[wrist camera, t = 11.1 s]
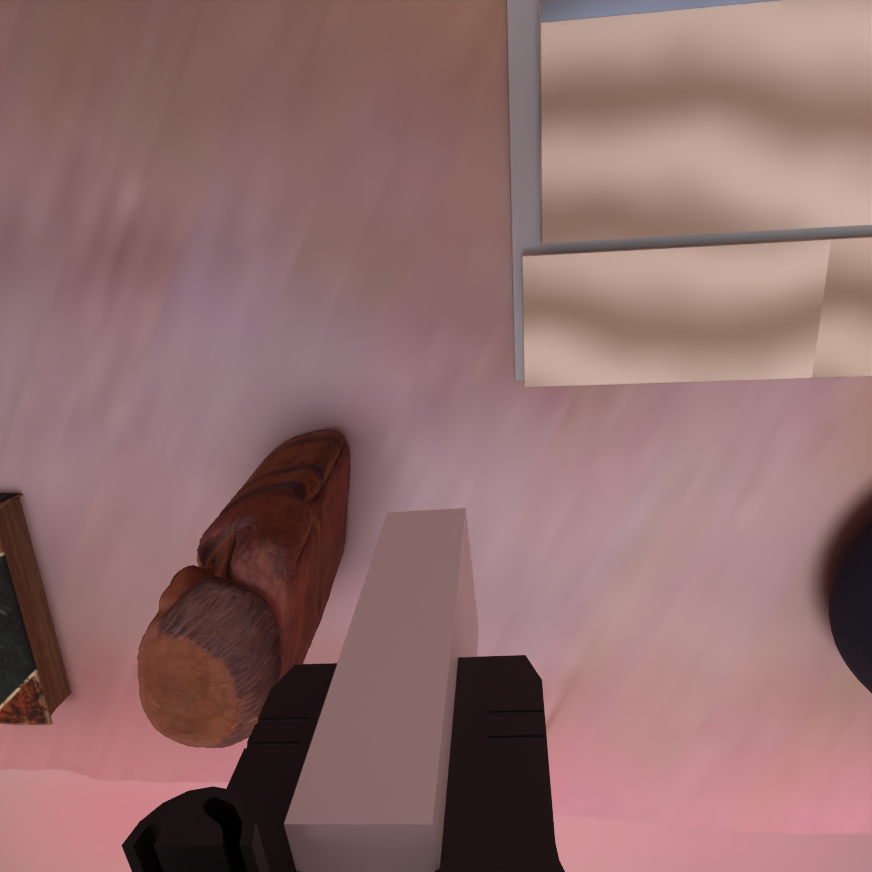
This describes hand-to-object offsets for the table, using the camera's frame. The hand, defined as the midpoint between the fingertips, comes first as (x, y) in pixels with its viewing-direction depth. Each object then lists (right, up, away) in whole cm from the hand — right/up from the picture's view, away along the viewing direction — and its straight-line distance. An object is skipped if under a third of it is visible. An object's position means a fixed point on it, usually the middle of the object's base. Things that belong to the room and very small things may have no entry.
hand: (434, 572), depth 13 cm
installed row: (+20, +10, +22) cm, 31 cm away
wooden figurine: (-8, -2, +30) cm, 31 cm away
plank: (+19, +18, +18) cm, 32 cm away
